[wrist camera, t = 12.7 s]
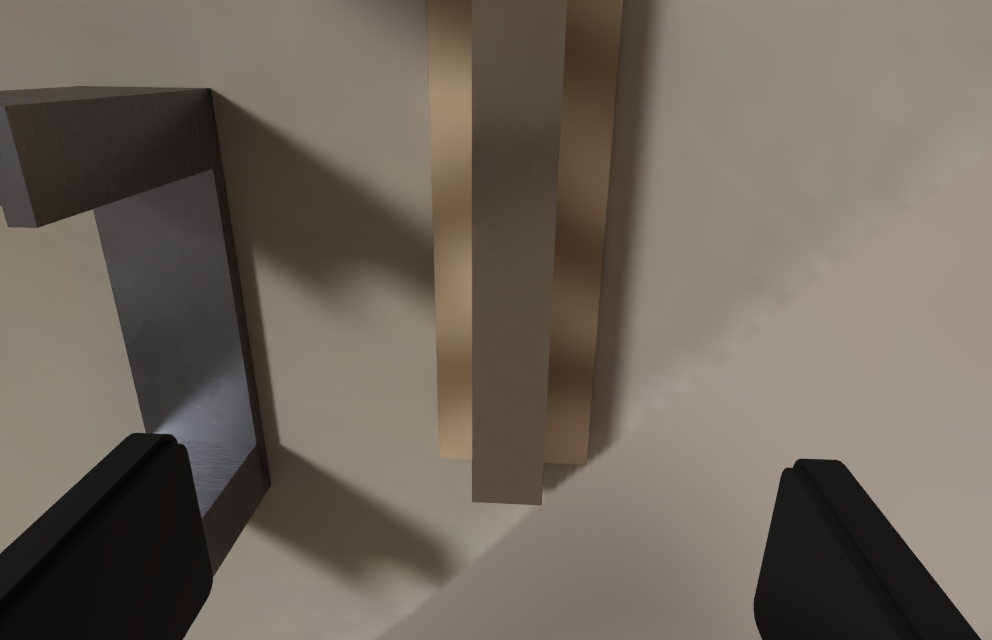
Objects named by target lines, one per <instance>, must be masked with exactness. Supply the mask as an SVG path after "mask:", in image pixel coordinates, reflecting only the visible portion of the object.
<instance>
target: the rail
mask: <svg viewBox="0 0 992 640" xmlns="http://www.w3.org/2000/svg"><path fill="white" fill-rule="evenodd" d="M566 15H567V0H472V502H486V503H506V504H526V505H542V486H543V466H544V446H545V427H546V407H547V387H548V368H549V348H550V329H551V309H552V289H553V270H554V250H555V230H556V211H557V191H558V172H559V152H560V132H561V113H562V93H563V73H564V54H565V34H566Z"/></svg>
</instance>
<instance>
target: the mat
mask: <svg viewBox="0 0 992 640" xmlns="http://www.w3.org/2000/svg"><path fill="white" fill-rule="evenodd" d="M622 12H623V0H567V15H566V34H565V54H564V73H563V93H562V113H561V132H560V152H559V172H558V191H557V211H556V230H555V250H554V270H553V289H552V309H551V329H550V348H549V368H548V387H547V407H546V427H545V446H544V463H552V464H574V465H587V454H588V441H589V429H590V416H591V403H592V391H593V378H594V365H595V353H596V340H597V327H598V315H599V302H600V290H601V277H602V264H603V252H604V239H605V226H606V214H607V201H608V189H609V176H610V163H611V151H612V138H613V125H614V113H615V100H616V87H617V75H618V62H619V50H620V37H621V24H622ZM427 23H428V59H429V95H430V131H431V167H432V203H433V239H434V275H435V311H436V347H437V383H438V419H439V456H440V459H463V460H472V0H427Z"/></svg>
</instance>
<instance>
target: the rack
mask: <svg viewBox="0 0 992 640" xmlns="http://www.w3.org/2000/svg"><path fill="white" fill-rule="evenodd" d="M0 205H2V208H3V212H4V215H5V219H6V222H7V225H8V227H29V228H38V227H41V226H44V225H47V224H50V223H53V222H56V221H59V220H62V219H65V218H68V217H71V216H74V215H77V214H80V213H83V212H86V211H89V210H92V209H93V211H94V215H95V219H96V223H97V227H98V232H99V236H100V240H101V244H102V249H103V253H104V257H105V261H106V266H107V270H108V274H109V278H110V283H111V287H112V291H113V295H114V300H115V304H116V308H117V312H118V316H119V321H120V325H121V329H122V333H123V338H124V342H125V346H126V350H127V355H128V359H129V363H130V367H131V372H132V376H133V380H134V384H135V388H136V393H137V397H138V401H139V405H140V410H141V414H142V418H143V422H144V427H145V431H146V433H154V434H171V435H173V436H174V437H175V438H176V439H177V441H178V444H183V445H184V446H185V447H186V448H187V451H188V455H189V460H190V465H191V470H192V475H193V480H194V484H195V489H196V494H197V499H198V504H199V509H200V514H201V519H202V523H203V528H204V533H205V538H206V543H207V548H208V553H209V558H210V562H211V567H212V573H213V577H214V575H215V574H216V572H217V570H218V569H219V567H220V566H221V564H222V562H223V561H224V559H225V558H226V556H227V554H228V553H229V551H230V550H231V548H232V546H233V545H234V543H235V542H236V540H237V538H238V537H239V535H240V534H241V532H242V531H243V529H244V527H245V526H246V524H247V523H248V521H249V519H250V518H251V516H252V515H253V513H254V511H255V510H256V508H257V507H258V505H259V503H260V502H261V500H262V499H263V497H264V495H265V494H266V492H267V491H268V489H269V487H270V486H271V482H270V476H269V469H268V463H267V456H266V449H265V443H264V436H263V430H262V423H261V417H260V410H259V404H258V397H257V391H256V384H255V377H254V371H253V364H252V358H251V351H250V345H249V338H248V332H247V325H246V319H245V312H244V306H243V299H242V292H241V286H240V279H239V273H238V266H237V260H236V253H235V247H234V240H233V234H232V227H231V220H230V214H229V207H228V201H227V194H226V188H225V181H224V175H223V168H222V162H221V155H220V149H219V142H218V135H217V129H216V122H215V116H214V109H213V103H212V96H211V90H210V88H154V87H86V86H76V87H59V88H41V89H24V90H7V91H0Z"/></svg>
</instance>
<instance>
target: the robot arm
mask: <svg viewBox="0 0 992 640" xmlns="http://www.w3.org/2000/svg"><path fill="white" fill-rule="evenodd" d="M212 583H213V573H212V567H211V562H210V558H209V553H208V548H207V543H206V538H205V533H204V528H203V523H202V519H201V514H200V509H199V504H198V499H197V494H196V489H195V484H194V480H193V475H192V470H191V465H190V460H189V455H188V451H187V448H186V447H185V446H184V445H183V444H178V441H177V439H176V438H175V437H174V436H173V435H171V434H154V433H133V434H131V435H129V436H128V437H126V438H125V439H124V440H123V441H122V442H121V443H120V444H119V445H118V446H117V447H116V448H114V449H113V450H112V451H111V452H110V453H109V454H108V455H107V456H106V457H105V458H104V459H103V460H101V461H100V462H99V463H98V464H97V465H96V466H95V467H94V468H93V469H92V470H91V471H90V472H88V473H87V474H86V475H85V476H84V477H83V478H82V479H81V480H80V481H79V482H78V483H77V484H75V485H74V486H73V487H72V488H71V489H70V490H69V491H68V492H67V493H66V494H65V495H64V496H62V497H61V498H60V499H59V500H58V501H57V502H56V503H55V504H54V505H53V506H52V507H50V508H49V509H48V510H47V511H46V512H45V513H44V514H43V515H42V516H41V517H40V518H39V519H37V520H36V521H35V522H34V523H33V524H32V525H31V526H30V527H29V528H28V529H27V530H26V531H24V532H23V533H22V534H21V535H20V536H19V537H18V538H17V539H16V540H15V541H14V542H13V543H11V544H10V545H9V546H8V547H7V548H6V549H5V550H4V551H3V552H2V553H1V554H0V640H183V638H184V637H185V635H186V633H187V632H188V630H189V628H190V627H191V625H192V623H193V622H194V620H195V618H196V617H197V615H198V613H199V612H200V610H201V609H202V607H203V605H204V604H205V602H206V600H207V598H208V596H209V594H210V591H211V588H212ZM754 617H755V621H756V625H757V628H758V630H759V633H760V635H761V638H762V640H981V639H980V637H979V636H978V635H977V634H976V632H975V631H974V630H973V628H972V627H971V626H970V625H969V623H968V622H967V621H966V620H965V618H964V617H963V616H962V614H961V613H960V612H959V611H958V609H957V608H956V607H955V605H954V604H953V603H952V602H951V600H950V599H949V598H948V596H947V595H946V594H945V593H944V591H943V590H942V589H941V588H940V586H939V585H938V584H937V582H936V581H935V580H934V579H933V577H932V576H931V575H930V573H929V572H928V571H927V570H926V568H925V567H924V566H923V564H922V563H921V562H920V561H919V559H918V558H917V557H916V556H915V554H914V553H913V552H912V550H911V549H910V548H909V547H908V545H907V544H906V543H905V541H904V540H903V539H902V538H901V537H900V535H899V534H898V532H897V531H896V530H895V529H894V527H893V526H892V525H891V524H890V522H889V521H888V520H887V519H886V517H885V516H884V515H883V514H882V512H881V511H880V510H879V508H878V507H877V506H876V504H875V503H874V502H873V501H872V499H871V498H870V497H869V495H868V494H867V493H866V492H865V490H864V489H863V488H862V486H861V485H860V484H859V483H858V482H857V480H856V479H855V478H854V477H853V475H852V474H851V472H850V471H849V470H848V469H847V467H846V466H845V465H844V464H843V463H842V462H841V461H838V460H823V459H822V460H821V459H799V460H797V461H796V462H795V464H794V466H793V468H785V469H784V471H783V472H782V475H781V479H780V483H779V488H778V492H777V497H776V502H775V507H774V511H773V515H772V520H771V525H770V529H769V534H768V538H767V543H766V548H765V552H764V556H763V561H762V566H761V570H760V575H759V579H758V584H757V588H756V593H755V597H754Z"/></svg>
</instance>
